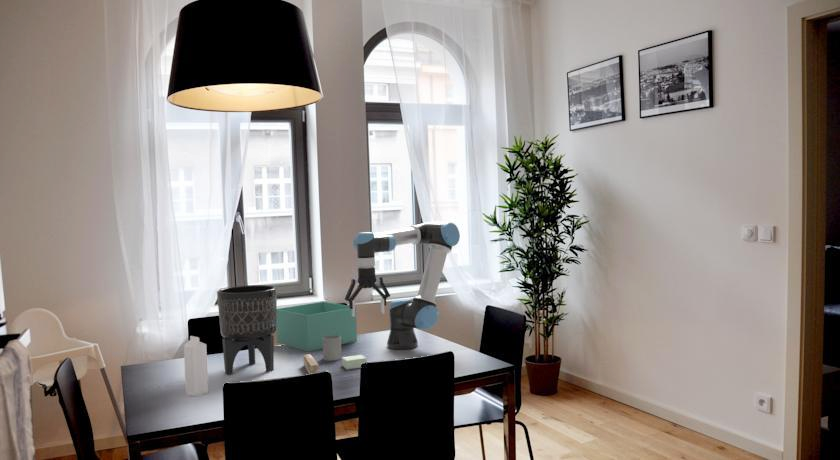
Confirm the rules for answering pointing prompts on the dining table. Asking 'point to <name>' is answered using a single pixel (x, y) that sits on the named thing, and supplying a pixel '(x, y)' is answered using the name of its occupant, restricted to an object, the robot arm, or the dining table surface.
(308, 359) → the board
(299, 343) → the box
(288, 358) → the dining table surface
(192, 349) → the milk
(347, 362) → the block
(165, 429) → the dining table surface
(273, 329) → the planter
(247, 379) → the dining table surface
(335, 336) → the cup
